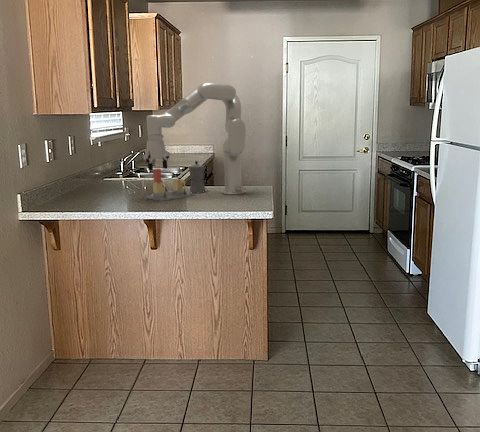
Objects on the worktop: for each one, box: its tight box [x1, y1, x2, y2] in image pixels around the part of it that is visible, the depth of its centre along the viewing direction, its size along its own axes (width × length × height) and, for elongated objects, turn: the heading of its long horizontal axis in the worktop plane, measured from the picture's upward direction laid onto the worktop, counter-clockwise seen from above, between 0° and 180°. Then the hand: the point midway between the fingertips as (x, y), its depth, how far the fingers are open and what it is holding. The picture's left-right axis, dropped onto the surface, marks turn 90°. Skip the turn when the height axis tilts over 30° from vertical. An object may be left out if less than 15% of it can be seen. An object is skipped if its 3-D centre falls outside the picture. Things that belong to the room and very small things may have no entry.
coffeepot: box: [188, 160, 206, 194], centre depth 321 cm, size 15×9×18 cm, turn 176°
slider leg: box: [152, 168, 166, 196], centre depth 299 cm, size 8×4×14 cm, turn 45°
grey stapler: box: [161, 177, 171, 192], centre depth 321 cm, size 17×5×10 cm, turn 20°
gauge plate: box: [145, 178, 197, 202], centre depth 305 cm, size 14×24×9 cm, turn 135°
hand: (158, 169), depth 299 cm, fingers open, 9 cm apart
